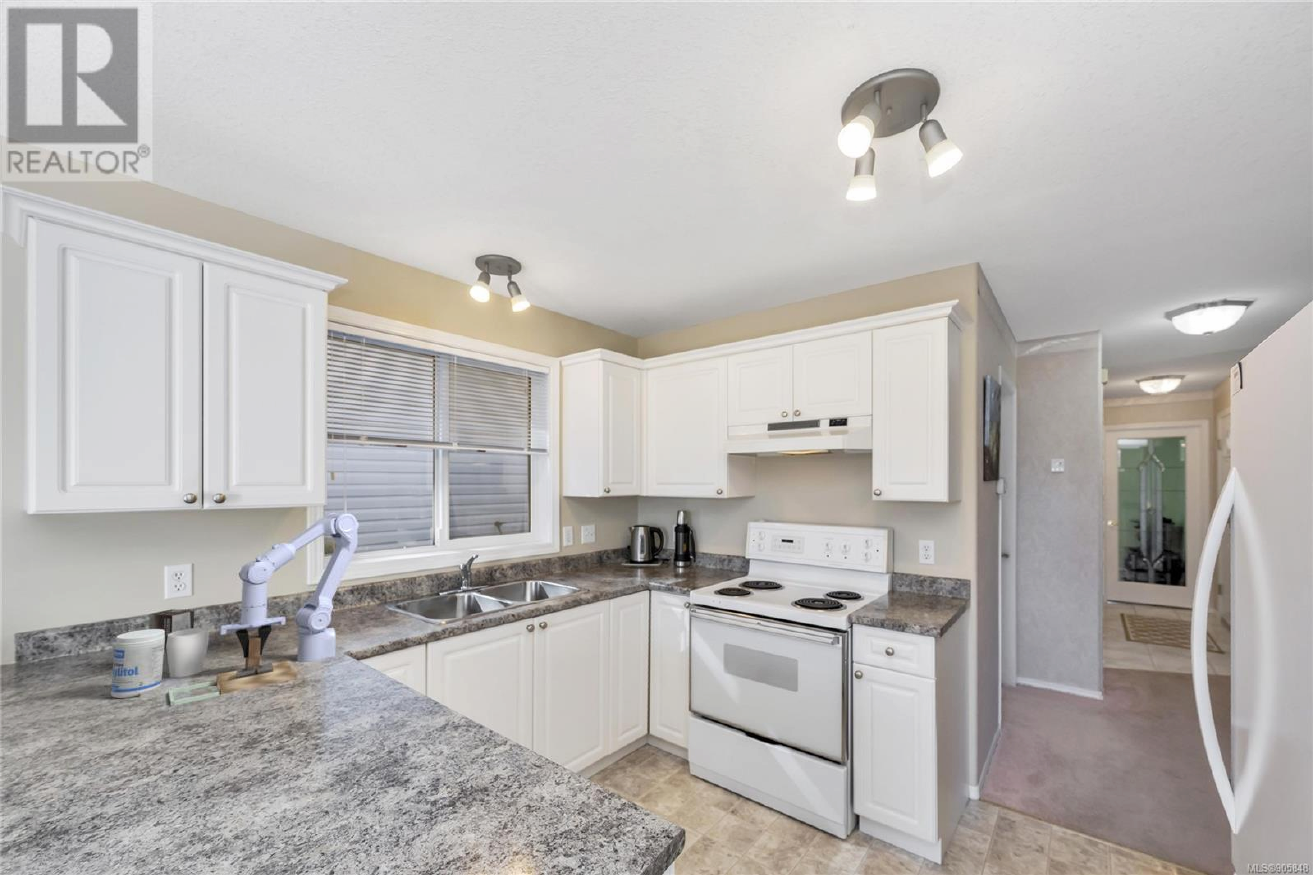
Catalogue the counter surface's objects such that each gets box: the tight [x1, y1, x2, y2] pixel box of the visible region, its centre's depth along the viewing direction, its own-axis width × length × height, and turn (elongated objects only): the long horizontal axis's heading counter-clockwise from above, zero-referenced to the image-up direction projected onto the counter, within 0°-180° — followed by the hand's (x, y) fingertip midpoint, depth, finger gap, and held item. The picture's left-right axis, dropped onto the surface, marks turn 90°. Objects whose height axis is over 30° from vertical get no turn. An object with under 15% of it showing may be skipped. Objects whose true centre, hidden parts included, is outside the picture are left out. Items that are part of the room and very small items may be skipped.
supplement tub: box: [110, 628, 165, 699], centre depth 144 cm, size 10×10×15 cm
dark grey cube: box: [236, 667, 255, 679], centre depth 146 cm, size 4×4×4 cm
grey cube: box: [255, 662, 274, 675], centre depth 148 cm, size 4×4×4 cm
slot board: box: [215, 660, 298, 695], centre depth 147 cm, size 16×10×3 cm, turn 133°
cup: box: [166, 627, 210, 679], centre depth 155 cm, size 9×9×12 cm
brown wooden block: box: [244, 634, 261, 668], centre depth 154 cm, size 2×5×9 cm, turn 43°
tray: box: [167, 680, 220, 707], centre depth 139 cm, size 9×11×2 cm
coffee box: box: [148, 608, 195, 674], centre depth 162 cm, size 9×6×16 cm
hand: (252, 655), depth 154 cm, fingers closed on brown wooden block, 2 cm apart
